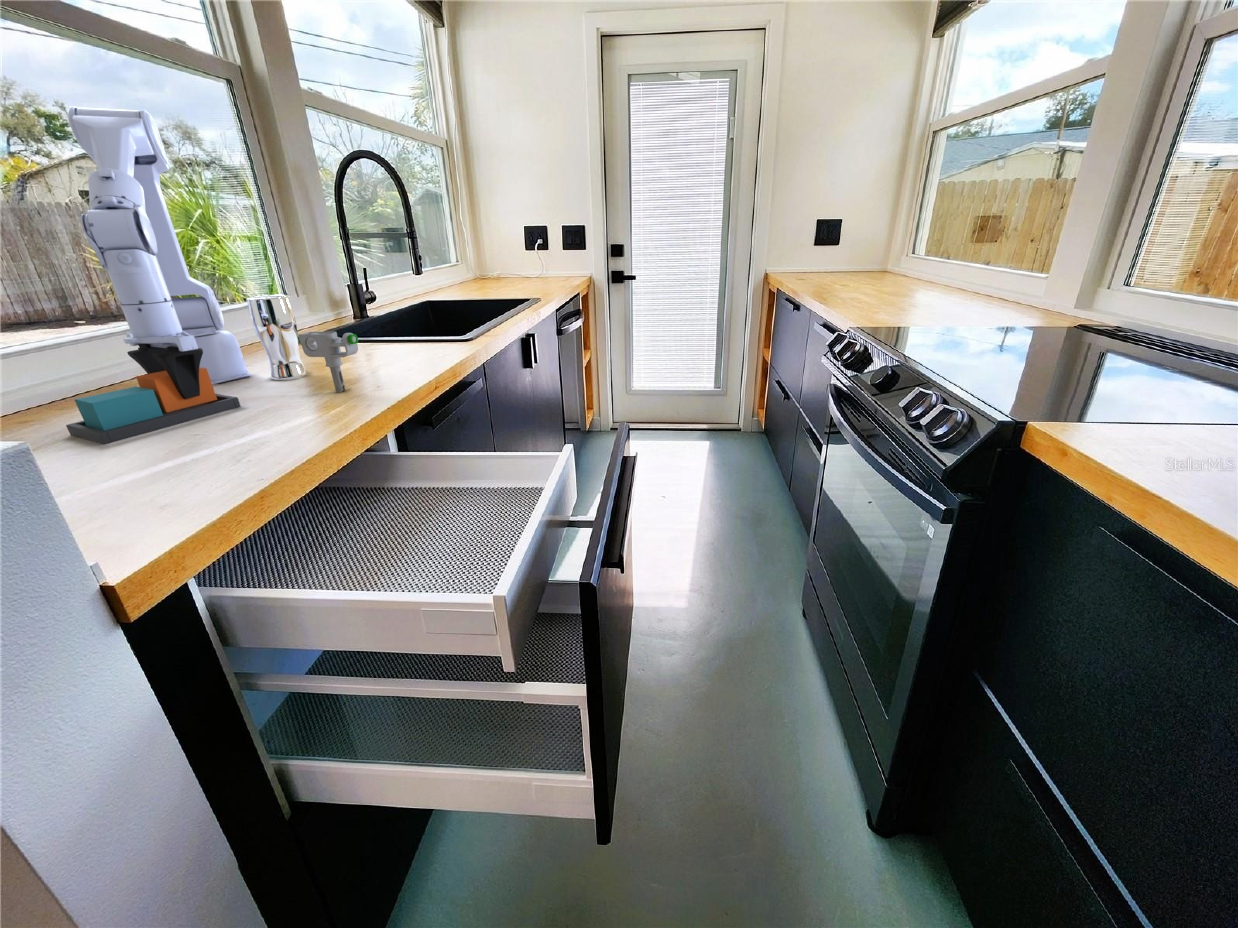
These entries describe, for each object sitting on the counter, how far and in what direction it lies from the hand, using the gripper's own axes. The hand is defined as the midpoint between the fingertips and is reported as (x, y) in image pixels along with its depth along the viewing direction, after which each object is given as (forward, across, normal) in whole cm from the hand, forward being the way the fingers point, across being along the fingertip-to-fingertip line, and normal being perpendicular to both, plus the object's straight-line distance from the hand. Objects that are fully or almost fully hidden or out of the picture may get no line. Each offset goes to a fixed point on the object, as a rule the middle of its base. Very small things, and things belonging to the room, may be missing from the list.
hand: (181, 395), depth 81 cm
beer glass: (+3, -9, +22) cm, 24 cm away
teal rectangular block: (+3, 0, -8) cm, 8 cm away
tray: (+3, 0, -4) cm, 5 cm away
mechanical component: (+3, +11, +18) cm, 22 cm away
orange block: (+1, 0, 0) cm, 1 cm away
